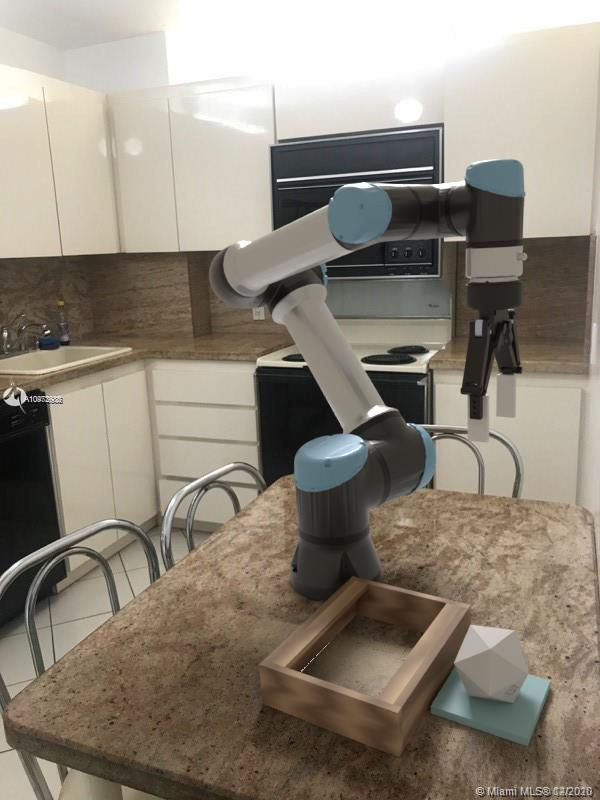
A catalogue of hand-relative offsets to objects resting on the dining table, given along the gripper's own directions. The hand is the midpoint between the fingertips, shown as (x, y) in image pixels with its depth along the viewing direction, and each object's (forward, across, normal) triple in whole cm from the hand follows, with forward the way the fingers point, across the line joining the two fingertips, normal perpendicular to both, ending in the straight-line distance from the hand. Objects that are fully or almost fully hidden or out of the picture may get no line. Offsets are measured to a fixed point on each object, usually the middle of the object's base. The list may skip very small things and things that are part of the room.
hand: (492, 428), depth 96 cm
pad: (+27, -24, -7) cm, 36 cm away
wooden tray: (+27, -25, +8) cm, 37 cm away
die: (+26, -23, -7) cm, 36 cm away
